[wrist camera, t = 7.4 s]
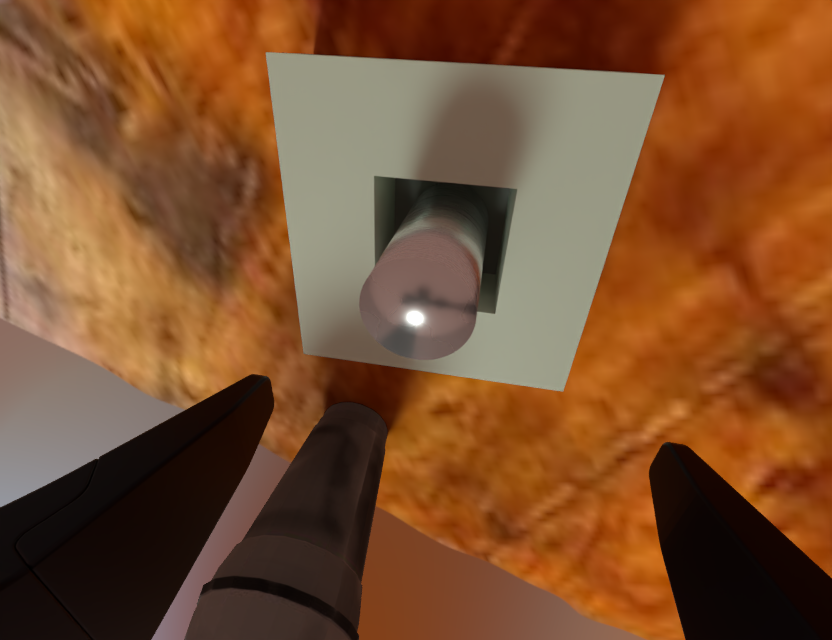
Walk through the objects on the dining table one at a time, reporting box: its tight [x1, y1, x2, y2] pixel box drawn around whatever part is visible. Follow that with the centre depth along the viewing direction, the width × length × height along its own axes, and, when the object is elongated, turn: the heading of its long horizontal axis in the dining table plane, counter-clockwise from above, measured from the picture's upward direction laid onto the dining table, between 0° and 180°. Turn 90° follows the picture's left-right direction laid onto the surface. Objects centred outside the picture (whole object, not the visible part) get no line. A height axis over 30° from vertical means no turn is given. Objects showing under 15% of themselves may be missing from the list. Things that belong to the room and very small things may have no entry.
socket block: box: [266, 52, 665, 391], centre depth 17 cm, size 12×12×4 cm
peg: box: [359, 182, 488, 360], centre depth 15 cm, size 4×4×8 cm
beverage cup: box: [184, 402, 388, 640], centre depth 19 cm, size 7×7×20 cm
